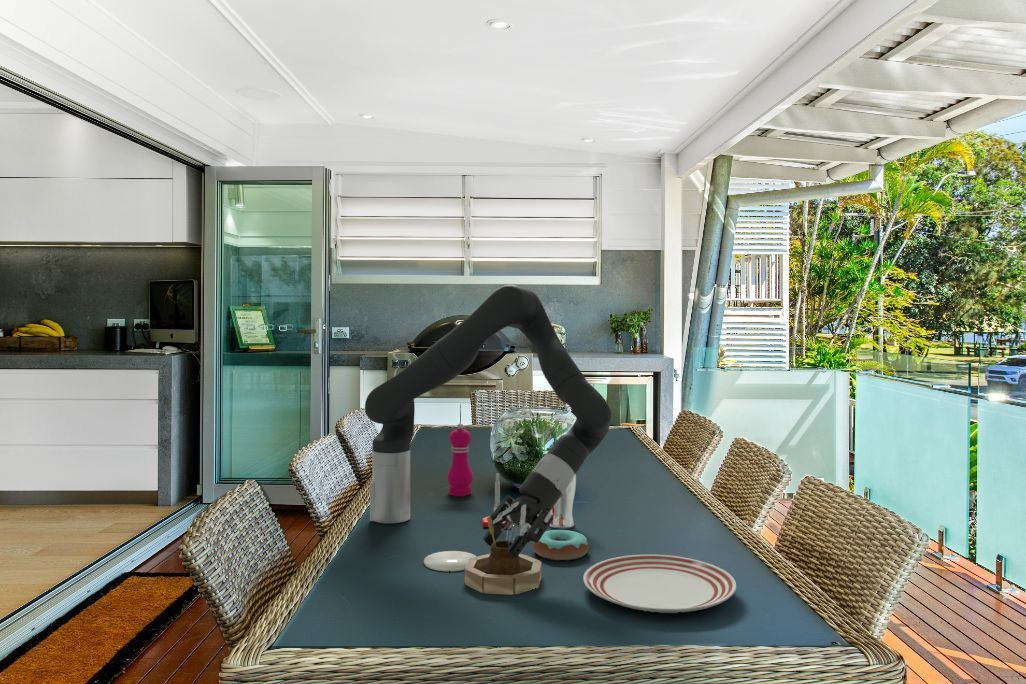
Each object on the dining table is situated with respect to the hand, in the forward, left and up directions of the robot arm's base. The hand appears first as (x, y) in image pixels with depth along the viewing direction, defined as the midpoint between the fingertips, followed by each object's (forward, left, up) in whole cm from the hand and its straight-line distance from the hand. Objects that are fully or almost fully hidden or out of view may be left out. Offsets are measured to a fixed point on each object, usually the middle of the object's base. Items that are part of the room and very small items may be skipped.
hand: (498, 549), depth 144 cm
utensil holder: (+1, +1, -6) cm, 7 cm away
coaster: (-11, +10, -6) cm, 16 cm away
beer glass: (+10, +40, -6) cm, 41 cm away
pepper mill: (-20, +68, -6) cm, 71 cm away
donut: (+11, +19, -7) cm, 23 cm away
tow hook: (-5, +40, -7) cm, 41 cm away
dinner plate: (+30, -2, -7) cm, 31 cm away
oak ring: (+1, +1, -6) cm, 6 cm away
